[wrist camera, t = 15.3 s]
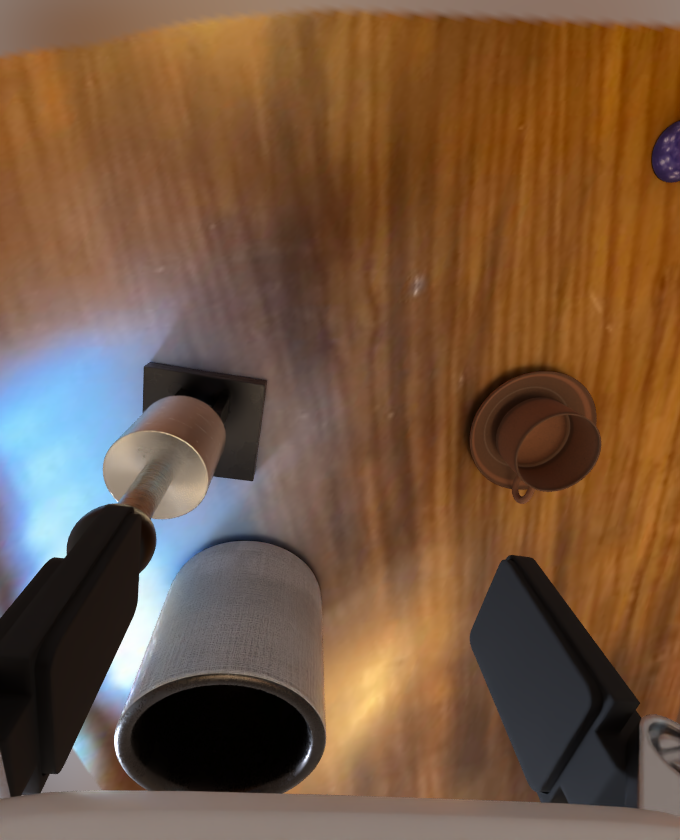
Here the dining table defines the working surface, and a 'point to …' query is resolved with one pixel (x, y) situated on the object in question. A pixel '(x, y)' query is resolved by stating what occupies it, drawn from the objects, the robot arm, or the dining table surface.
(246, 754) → the planter
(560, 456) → the cup and saucer
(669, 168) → the toy lamp
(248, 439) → the dark grey lever base
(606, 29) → the dining table surface
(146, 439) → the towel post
